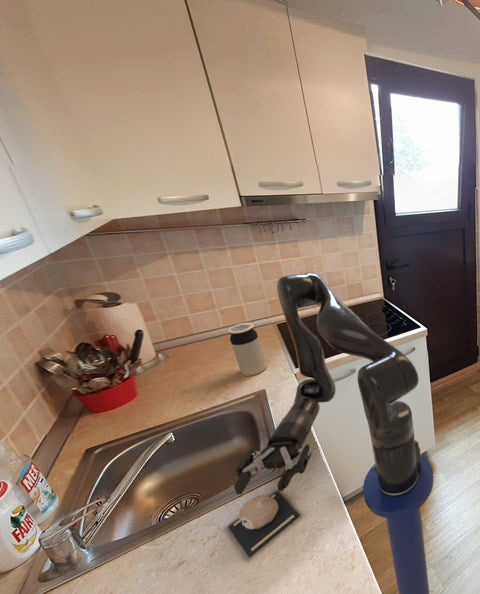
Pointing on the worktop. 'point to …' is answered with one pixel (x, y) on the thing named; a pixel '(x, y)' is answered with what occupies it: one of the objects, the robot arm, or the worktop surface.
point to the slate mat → (264, 527)
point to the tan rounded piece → (258, 512)
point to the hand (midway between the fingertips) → (258, 490)
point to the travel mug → (247, 349)
